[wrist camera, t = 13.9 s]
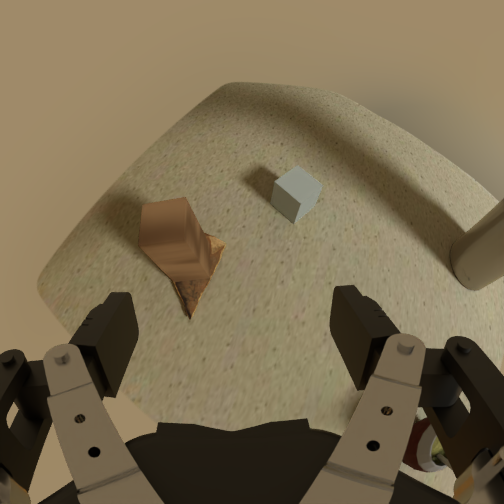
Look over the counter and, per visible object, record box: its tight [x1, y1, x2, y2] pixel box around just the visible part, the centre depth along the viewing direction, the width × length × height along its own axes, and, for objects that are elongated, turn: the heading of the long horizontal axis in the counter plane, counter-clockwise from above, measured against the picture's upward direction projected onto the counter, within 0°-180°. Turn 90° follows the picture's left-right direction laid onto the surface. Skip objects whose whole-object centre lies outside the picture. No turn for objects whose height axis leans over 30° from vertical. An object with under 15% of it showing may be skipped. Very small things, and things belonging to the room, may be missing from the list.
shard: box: [174, 233, 226, 320], centre depth 37 cm, size 11×8×2 cm
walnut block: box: [138, 197, 210, 282], centre depth 31 cm, size 4×4×10 cm
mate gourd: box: [402, 417, 453, 472], centre depth 22 cm, size 8×8×15 cm
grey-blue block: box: [270, 165, 323, 224], centre depth 40 cm, size 4×4×5 cm
